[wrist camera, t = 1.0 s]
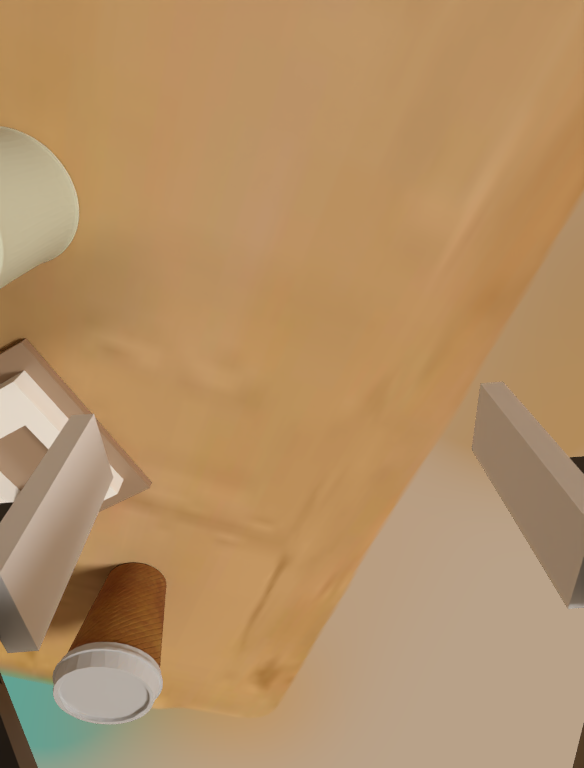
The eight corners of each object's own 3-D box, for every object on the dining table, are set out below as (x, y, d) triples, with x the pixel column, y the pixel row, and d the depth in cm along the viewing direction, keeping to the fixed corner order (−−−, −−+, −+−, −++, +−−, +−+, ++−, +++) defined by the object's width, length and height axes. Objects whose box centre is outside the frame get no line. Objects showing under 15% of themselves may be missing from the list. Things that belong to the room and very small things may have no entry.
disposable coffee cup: (104, 540, 50) (60, 652, 40) (193, 565, 53) (174, 678, 42) (82, 599, 54) (36, 715, 44) (165, 620, 57) (141, 735, 46)
